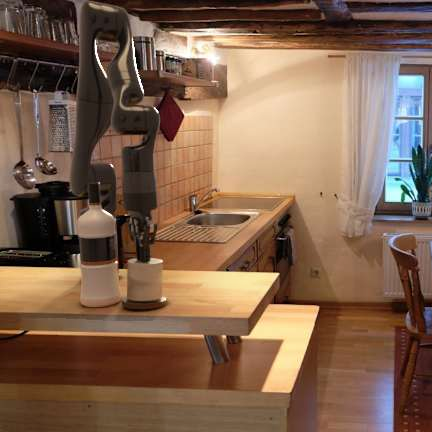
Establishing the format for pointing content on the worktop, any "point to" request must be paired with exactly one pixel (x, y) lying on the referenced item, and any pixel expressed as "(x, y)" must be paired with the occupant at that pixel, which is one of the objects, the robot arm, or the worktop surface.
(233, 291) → the worktop surface
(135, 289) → the towel holder
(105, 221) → the vodka
